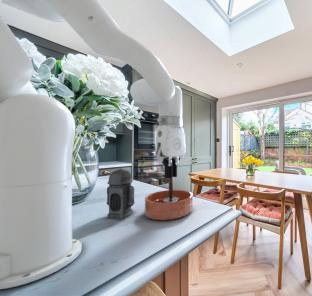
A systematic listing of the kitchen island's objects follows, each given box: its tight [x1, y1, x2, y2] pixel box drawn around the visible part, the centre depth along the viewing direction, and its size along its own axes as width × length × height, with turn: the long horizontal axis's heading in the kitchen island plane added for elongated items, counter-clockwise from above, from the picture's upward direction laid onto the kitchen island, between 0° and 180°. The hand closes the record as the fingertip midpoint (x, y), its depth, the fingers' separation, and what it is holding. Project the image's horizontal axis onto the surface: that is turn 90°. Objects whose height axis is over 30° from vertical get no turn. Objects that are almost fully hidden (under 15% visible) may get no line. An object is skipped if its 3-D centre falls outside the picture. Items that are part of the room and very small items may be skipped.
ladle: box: [163, 162, 179, 203], centre depth 57 cm, size 5×5×15 cm
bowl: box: [144, 189, 194, 221], centre depth 57 cm, size 15×15×6 cm
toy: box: [106, 168, 135, 220], centre depth 54 cm, size 8×6×15 cm
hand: (170, 176), depth 57 cm, fingers closed on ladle, 1 cm apart
